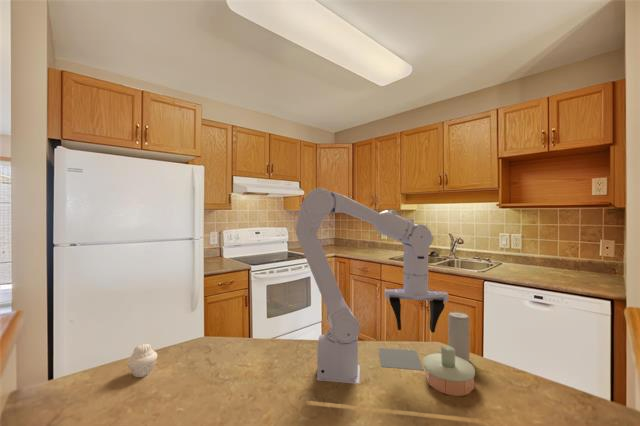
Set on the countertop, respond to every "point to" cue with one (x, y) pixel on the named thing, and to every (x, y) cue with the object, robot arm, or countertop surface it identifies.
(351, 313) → the robot arm
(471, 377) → the lid
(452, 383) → the bowl
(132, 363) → the muffin
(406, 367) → the mat
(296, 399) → the countertop surface
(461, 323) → the beverage can
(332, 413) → the countertop surface
